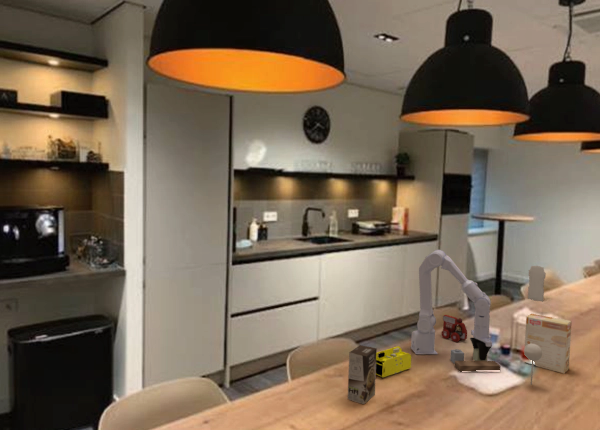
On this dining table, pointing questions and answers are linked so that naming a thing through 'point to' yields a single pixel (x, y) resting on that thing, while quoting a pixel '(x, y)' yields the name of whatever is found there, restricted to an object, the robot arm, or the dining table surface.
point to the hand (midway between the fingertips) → (480, 357)
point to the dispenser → (536, 283)
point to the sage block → (477, 355)
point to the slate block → (456, 355)
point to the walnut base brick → (476, 365)
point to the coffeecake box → (550, 341)
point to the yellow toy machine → (392, 361)
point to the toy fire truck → (453, 328)
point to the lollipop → (533, 354)
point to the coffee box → (362, 374)
